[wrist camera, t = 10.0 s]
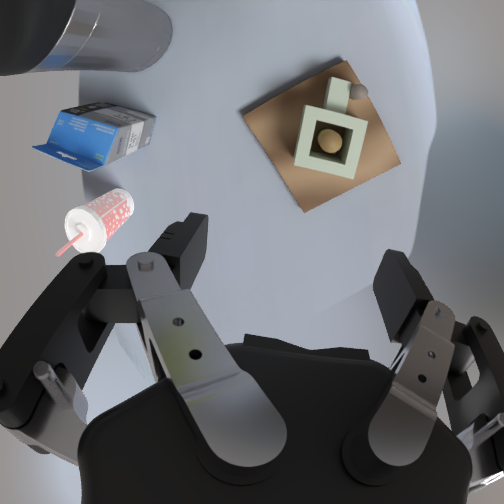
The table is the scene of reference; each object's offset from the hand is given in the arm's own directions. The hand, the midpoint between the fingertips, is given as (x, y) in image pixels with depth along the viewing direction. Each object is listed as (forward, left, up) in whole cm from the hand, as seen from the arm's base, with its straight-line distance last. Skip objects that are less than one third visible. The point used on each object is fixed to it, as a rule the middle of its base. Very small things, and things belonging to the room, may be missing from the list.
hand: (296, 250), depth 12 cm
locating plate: (0, +4, -21) cm, 22 cm away
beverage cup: (-7, -23, -21) cm, 32 cm away
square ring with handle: (-2, +5, -20) cm, 21 cm away
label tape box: (-15, -15, -22) cm, 30 cm away
